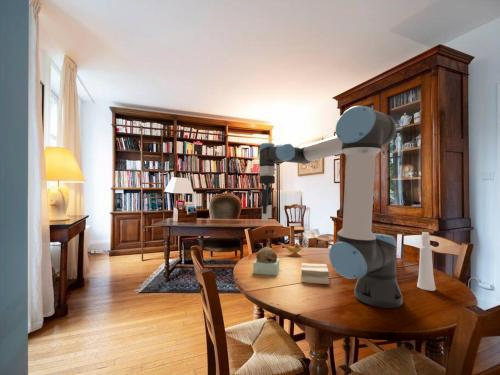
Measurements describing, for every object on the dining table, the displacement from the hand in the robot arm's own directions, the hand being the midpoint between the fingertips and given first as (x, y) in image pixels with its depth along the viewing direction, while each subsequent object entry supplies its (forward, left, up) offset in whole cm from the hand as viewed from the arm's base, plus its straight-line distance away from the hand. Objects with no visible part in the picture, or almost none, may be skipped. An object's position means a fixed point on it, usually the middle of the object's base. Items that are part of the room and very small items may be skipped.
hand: (266, 219), depth 118 cm
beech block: (-6, -22, -25) cm, 33 cm away
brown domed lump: (0, 0, -20) cm, 20 cm away
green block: (0, 0, -25) cm, 25 cm away
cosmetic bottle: (-7, -65, -25) cm, 70 cm away
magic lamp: (+34, -11, -25) cm, 43 cm away
